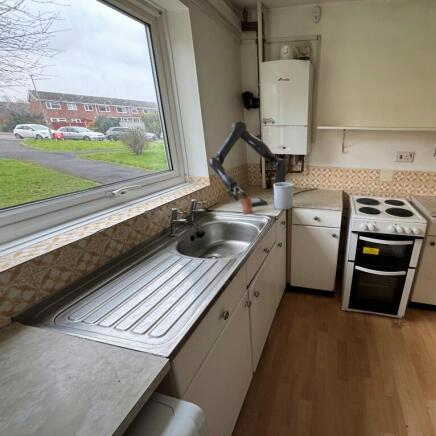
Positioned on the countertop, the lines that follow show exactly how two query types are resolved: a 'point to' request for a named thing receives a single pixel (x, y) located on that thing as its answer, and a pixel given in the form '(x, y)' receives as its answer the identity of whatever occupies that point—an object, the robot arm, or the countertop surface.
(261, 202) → the kitchen scale
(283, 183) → the utensil holder
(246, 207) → the cup
